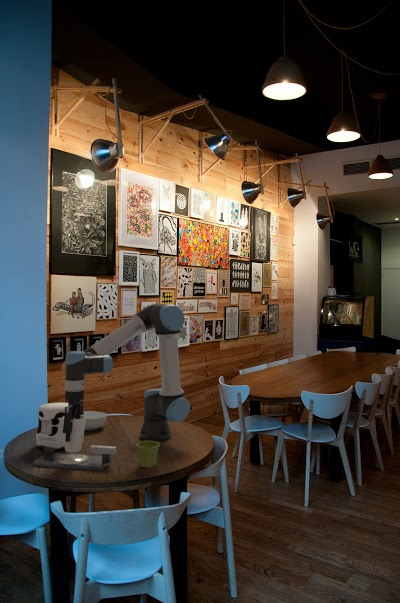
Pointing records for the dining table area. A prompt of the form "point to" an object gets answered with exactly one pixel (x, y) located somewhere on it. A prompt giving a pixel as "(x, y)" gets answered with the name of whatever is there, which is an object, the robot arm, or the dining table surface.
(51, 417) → the milk container
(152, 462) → the plant pot
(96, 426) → the cereal bowl
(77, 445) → the foam cup
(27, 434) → the dining table surface
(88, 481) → the dining table surface
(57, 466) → the shaft stand
